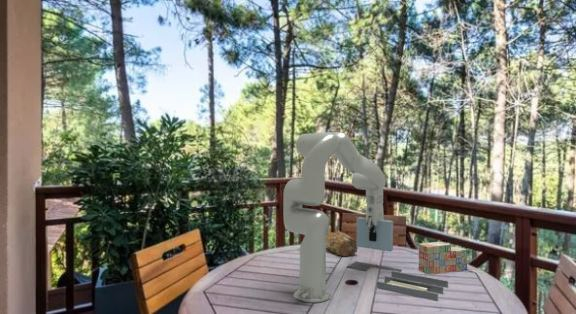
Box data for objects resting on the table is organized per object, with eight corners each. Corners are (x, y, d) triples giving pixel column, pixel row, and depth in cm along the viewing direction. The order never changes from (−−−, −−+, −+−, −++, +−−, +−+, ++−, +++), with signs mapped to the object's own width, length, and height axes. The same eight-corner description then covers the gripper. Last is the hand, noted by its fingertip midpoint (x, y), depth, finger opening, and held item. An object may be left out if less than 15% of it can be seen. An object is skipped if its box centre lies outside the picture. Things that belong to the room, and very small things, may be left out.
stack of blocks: (457, 266, 178) (457, 239, 177) (467, 270, 172) (467, 243, 171) (418, 270, 171) (418, 243, 171) (427, 274, 165) (427, 246, 165)
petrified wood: (361, 255, 193) (357, 236, 192) (337, 263, 190) (334, 243, 189) (345, 245, 212) (342, 228, 211) (323, 251, 209) (320, 234, 208)
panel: (390, 251, 166) (390, 221, 166) (356, 246, 175) (356, 218, 175) (392, 250, 169) (393, 220, 169) (359, 245, 178) (359, 217, 178)
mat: (394, 276, 162) (394, 275, 162) (346, 267, 174) (346, 266, 174) (401, 270, 170) (401, 269, 170) (355, 262, 183) (355, 261, 183)
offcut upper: (423, 296, 138) (423, 291, 138) (386, 287, 146) (386, 283, 146) (427, 292, 141) (427, 288, 141) (390, 284, 150) (390, 280, 150)
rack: (437, 303, 133) (437, 294, 133) (377, 290, 146) (377, 282, 146) (448, 289, 147) (448, 281, 147) (392, 278, 160) (392, 271, 160)
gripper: (375, 202, 163) (375, 245, 163) (388, 198, 176) (388, 237, 177) (359, 200, 167) (359, 242, 168) (373, 197, 181) (373, 235, 181)
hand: (374, 239), depth 172 cm, fingers closed on panel, 3 cm apart
